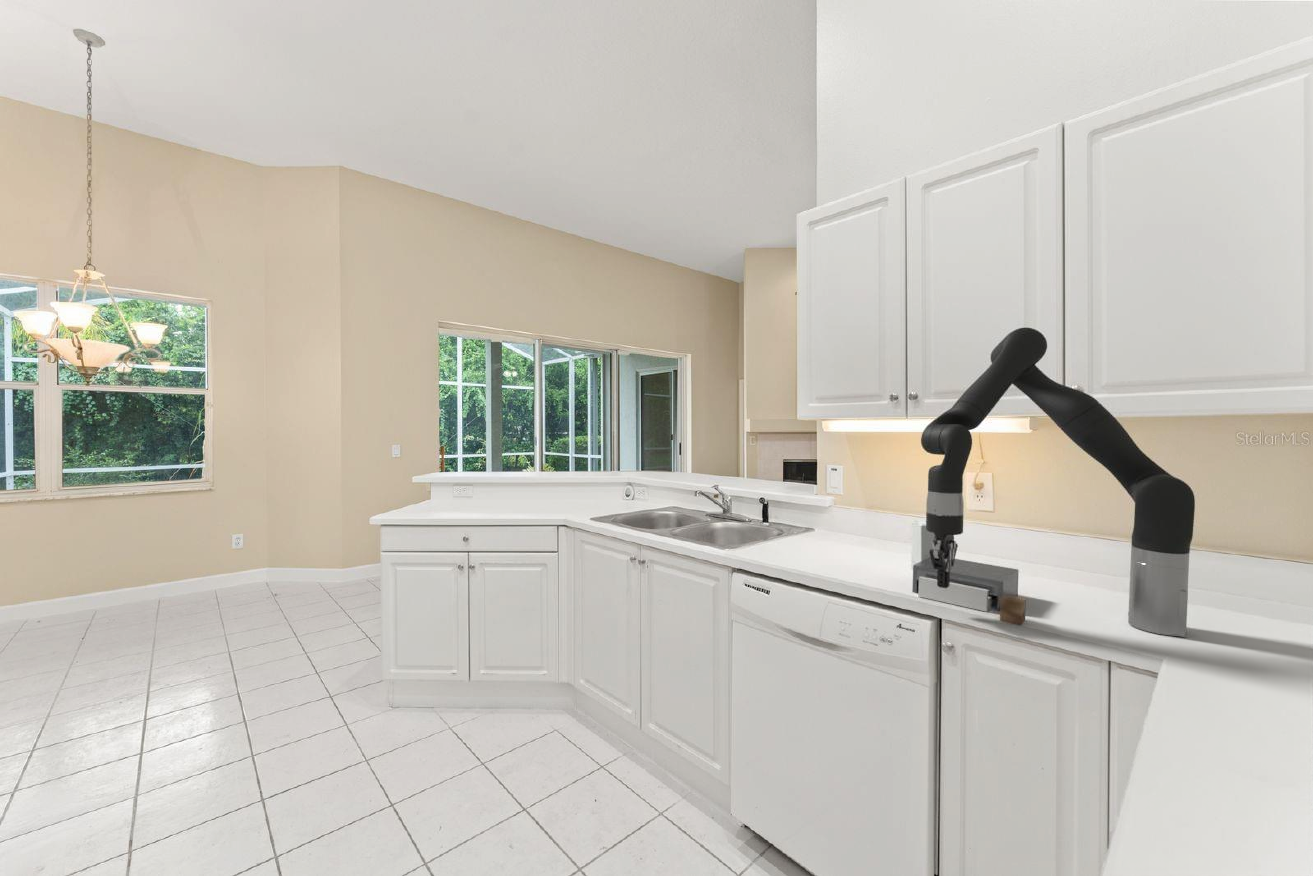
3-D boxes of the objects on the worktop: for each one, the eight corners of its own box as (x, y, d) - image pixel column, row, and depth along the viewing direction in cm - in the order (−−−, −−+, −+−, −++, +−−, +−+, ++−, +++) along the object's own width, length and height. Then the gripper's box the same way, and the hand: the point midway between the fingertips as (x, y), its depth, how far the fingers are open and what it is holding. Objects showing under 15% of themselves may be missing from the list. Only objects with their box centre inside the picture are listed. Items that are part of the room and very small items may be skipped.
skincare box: (942, 577, 155) (943, 525, 154) (919, 576, 155) (921, 524, 155) (930, 569, 163) (931, 520, 163) (909, 568, 164) (910, 519, 163)
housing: (1017, 597, 138) (1018, 569, 138) (1002, 611, 127) (1003, 582, 126) (933, 580, 152) (933, 555, 152) (912, 592, 141) (913, 565, 140)
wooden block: (1025, 620, 121) (1025, 598, 121) (1021, 625, 118) (1022, 602, 118) (1004, 616, 124) (1004, 594, 124) (999, 620, 121) (1000, 598, 121)
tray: (1004, 595, 139) (1005, 576, 139) (986, 611, 126) (987, 591, 126) (941, 582, 149) (941, 564, 149) (918, 596, 137) (918, 577, 136)
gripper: (936, 507, 132) (934, 578, 132) (917, 512, 122) (916, 589, 123) (970, 510, 127) (969, 584, 127) (954, 516, 117) (952, 597, 118)
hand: (943, 587), depth 125 cm, fingers closed
